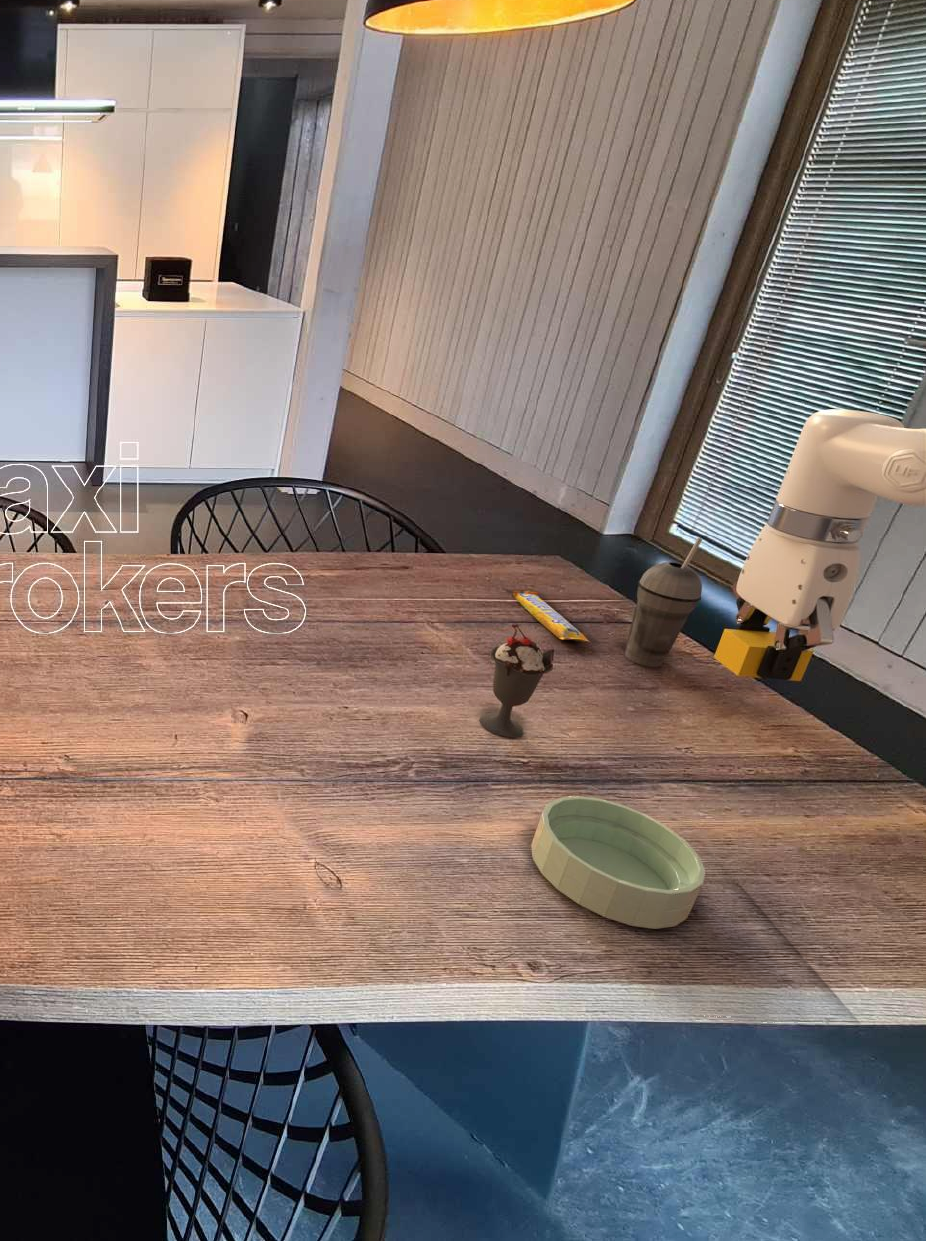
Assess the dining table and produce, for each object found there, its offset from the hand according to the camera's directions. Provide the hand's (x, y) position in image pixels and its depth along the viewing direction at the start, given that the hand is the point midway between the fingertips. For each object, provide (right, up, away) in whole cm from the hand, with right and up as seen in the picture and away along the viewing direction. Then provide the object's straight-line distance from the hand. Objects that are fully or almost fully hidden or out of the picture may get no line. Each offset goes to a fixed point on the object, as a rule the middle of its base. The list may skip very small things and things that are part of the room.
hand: (757, 664), depth 97 cm
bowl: (-29, -19, -15) cm, 38 cm away
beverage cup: (+6, -3, +25) cm, 26 cm away
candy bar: (-1, +1, +35) cm, 35 cm away
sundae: (-25, -10, +9) cm, 28 cm away
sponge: (0, -1, 0) cm, 1 cm away
